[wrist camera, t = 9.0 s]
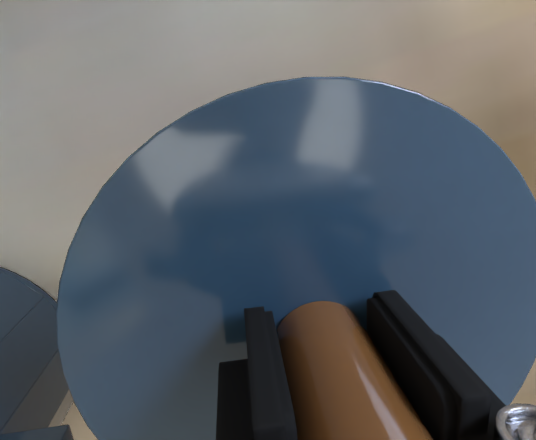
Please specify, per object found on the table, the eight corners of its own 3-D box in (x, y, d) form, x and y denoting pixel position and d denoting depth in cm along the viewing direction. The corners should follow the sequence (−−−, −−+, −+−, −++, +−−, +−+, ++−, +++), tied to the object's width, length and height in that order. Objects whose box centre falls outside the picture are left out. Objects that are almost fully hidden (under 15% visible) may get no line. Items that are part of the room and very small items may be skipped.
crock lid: (11, 103, 9) (-388, 91, 3) (553, 59, 10) (1003, -10, 4) (124, 518, 13) (40, 847, 7) (500, 458, 14) (691, 703, 8)
